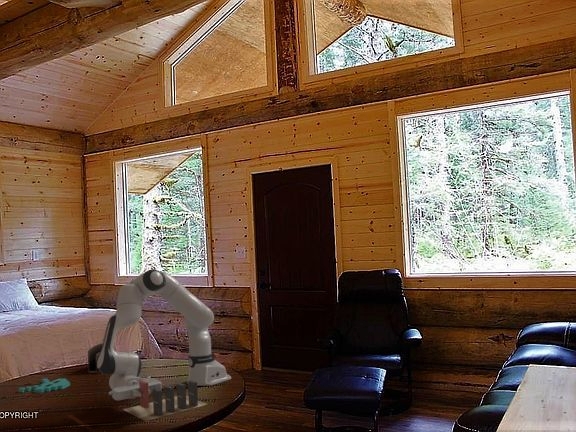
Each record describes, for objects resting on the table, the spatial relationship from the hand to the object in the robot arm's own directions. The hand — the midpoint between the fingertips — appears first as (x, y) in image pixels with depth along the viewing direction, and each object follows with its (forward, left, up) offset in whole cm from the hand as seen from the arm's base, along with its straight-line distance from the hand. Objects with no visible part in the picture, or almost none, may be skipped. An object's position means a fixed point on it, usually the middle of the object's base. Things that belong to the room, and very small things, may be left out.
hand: (145, 393), depth 221 cm
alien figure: (+12, -90, -11) cm, 91 cm away
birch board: (-13, -8, -11) cm, 18 cm away
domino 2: (-11, -1, -10) cm, 15 cm away
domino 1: (-6, -1, -10) cm, 11 cm away
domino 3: (-17, -1, -10) cm, 19 cm away
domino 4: (-22, -1, -10) cm, 24 cm away
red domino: (0, -1, -5) cm, 6 cm away
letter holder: (-24, -108, -11) cm, 111 cm away
